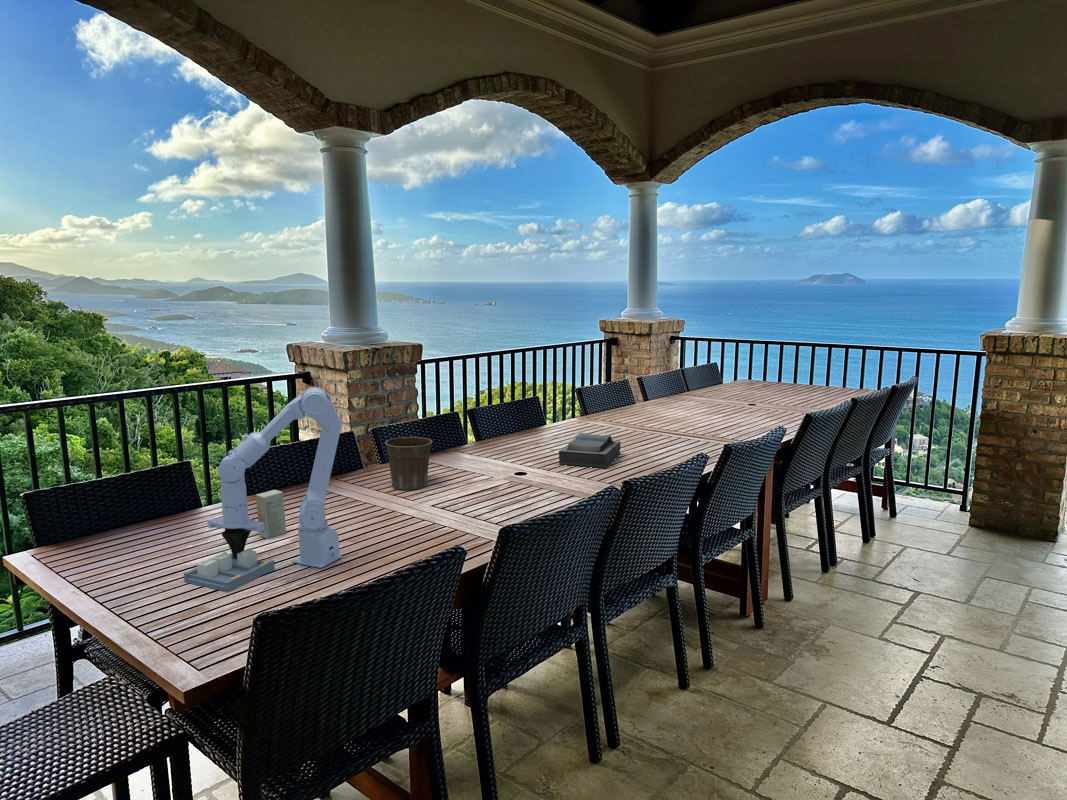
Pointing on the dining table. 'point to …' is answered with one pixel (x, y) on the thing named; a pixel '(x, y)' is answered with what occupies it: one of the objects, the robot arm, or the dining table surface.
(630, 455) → the dining table surface
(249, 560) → the tab
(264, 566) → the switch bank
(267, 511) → the skincare box
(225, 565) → the tab
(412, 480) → the plant pot
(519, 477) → the dining table surface
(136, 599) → the dining table surface
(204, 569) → the tab
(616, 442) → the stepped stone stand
